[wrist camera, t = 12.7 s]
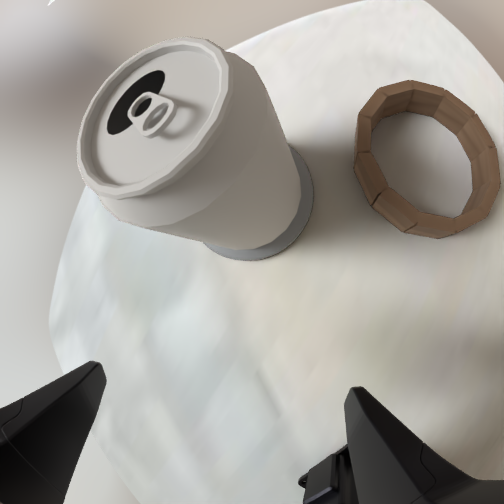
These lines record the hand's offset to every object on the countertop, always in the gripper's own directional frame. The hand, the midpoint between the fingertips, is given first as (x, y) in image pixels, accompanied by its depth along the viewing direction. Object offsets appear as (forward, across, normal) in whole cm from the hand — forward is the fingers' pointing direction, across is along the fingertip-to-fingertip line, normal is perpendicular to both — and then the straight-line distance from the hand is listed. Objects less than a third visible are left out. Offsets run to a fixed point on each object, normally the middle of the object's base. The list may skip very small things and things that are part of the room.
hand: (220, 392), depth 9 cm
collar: (+11, -12, -8) cm, 18 cm away
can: (+13, 0, -5) cm, 13 cm away
